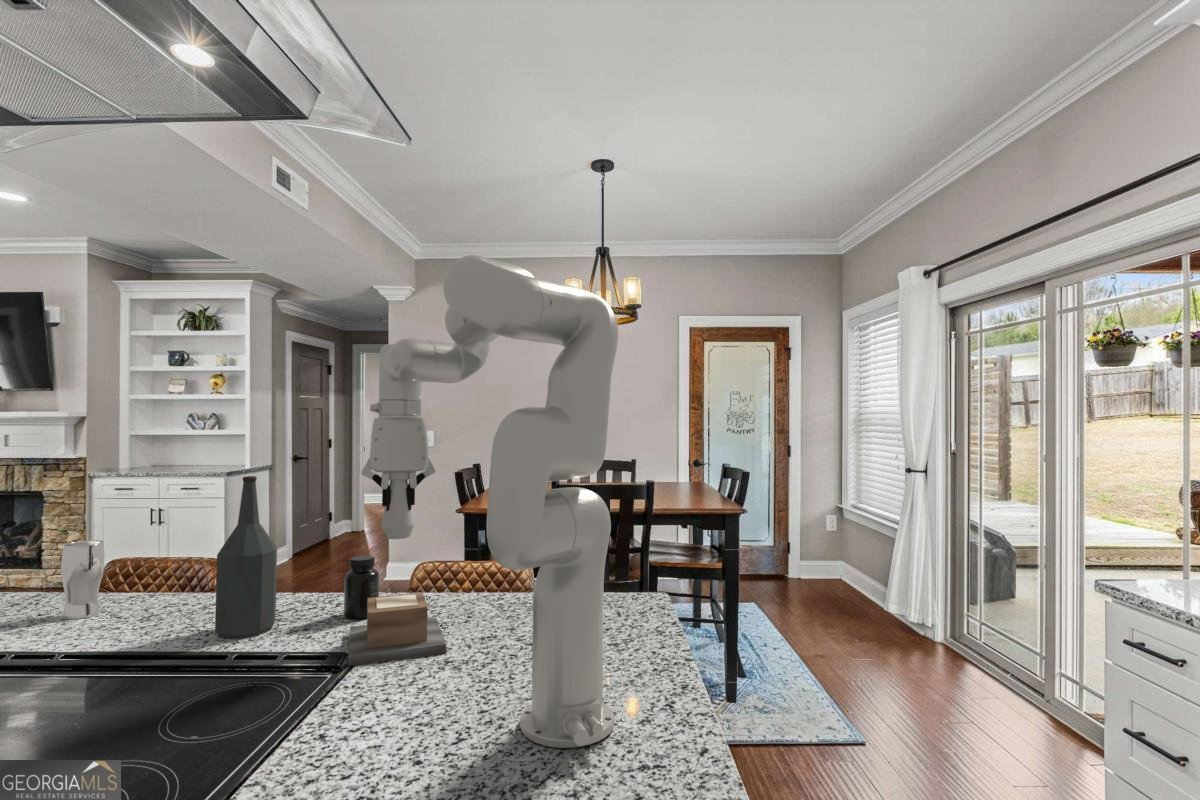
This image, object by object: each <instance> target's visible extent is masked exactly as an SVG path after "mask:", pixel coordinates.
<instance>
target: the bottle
mask: <svg viewBox="0 0 1200 800" xmlns="http://www.w3.org/2000/svg"><path fill="white" fill-rule="evenodd" d="M242 481H243V484H242V489H241V491H242V492H241V498H240V506H239V511H238V512H239V513H238V514H239V515H238V520H237V525H236V526H235V528H234V529H233V530H232V532H231V533H230V536H228V538H227V539H226V541H225V542H224V544H223V545H222V547H221V548H220V550H219V552H217V555H216V582H215V583H216V586H215V588H216V589H215V590H216V591H215V617H214V619H215V620H214V621H215V623H214V626H215V627H214V632H215V634H216V635H217V636H218V637H219V638H223V639H233V640H234V639H235V640H237V639H244V638H250V637H254V636H259V635H262V634H264V633H266V632H269V631H271V630H272V628H274V627H273V626H274V625H275V622H276V614H277V613H276V611H277V610H276V608H277V607H276V606H277V567H278V566H277V564H278V562H277V561H278V547H277V546H276V544H275V543H274V541H273V540H272V538H271V537H270V536H269V534H268V532H267V531H266V529H264V527H263V525H262V524H261V523H260V515H259V504H258V492H257V483H256V482H257V476H253V475H248V476H243V477H242Z"/></svg>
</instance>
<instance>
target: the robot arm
mask: <svg viewBox="0 0 1200 800" xmlns="http://www.w3.org/2000/svg"><path fill="white" fill-rule="evenodd" d="M442 289H443V296H444V299H445V301H446V303H447V305H448V308H447V309H446V311H445V315H444V324H445V328H446V331H447V333H448V334H449V336H450V337H451V340H452V341H454V342H445V341H440V340H439V341H438V340H429V339H419V338H403V339H400V340H398V341H396V342H395V343H389V344H384V345H383V346H382V347H381V348H380V350H379V359H378V361H379V363H378V364H379V365H378V366H379V367H378V402H377V403H371V404H370V406H369V407H370V408H369V409H370V412H375V413H376V414H378V415H377V416H378V417H374V418H373V422H372V428H371V435H370V436H371V437H370V446H369V448H370V449H369V451H370V452H369V458H368V460H367V461H366V463H365V464H364V467H363V469H362V470H361V475H362V476H363V477H365V478H368V479H370V480H372V481H373V482H374V483H376V484H377V486H378V487H380V488H381V490H382V493H381V495H382V496H381V497H382V498H381V507H385V506H386V511H389V507H390V502H391V490H390V486H389V485H390V480H389V474H390V472H409V479H408V489H407V504H408V509H409V510H411V505H412V506H414V505H416V504H415V503H416V500H415V499H416V497H415V495H416V488H417V486H418V485H419V484H421V482H422V481H424V479H427V478H428V477H430V476H432V475H434V474H435V473H436V469H435V467H434V465H433V463H432V461H431V460H430V458H429V440H428V439H429V437H428V428H427V423H426V422H427V421H426V418H424V417H422V416H421V415H422V414H421V413H422V383H439V384H456V383H459V382H461V381H464V380H466V379H467V378H469V377H471V376H473V375H474V374H475V373H477V372H479V371H480V370H481V369H482V368H483V366H484V365H485V363H486V361H487V358H488V356H489V354H490V353H489V352H490V347H491V346H490V345H491V344H490V343H491V342H493V341H494V340H495V339H497V337H500V336H501V337H505V338H509V339H512V340H522V341H529V342H534V343H535V342H537V343H542V344H543V343H544V344H553V345H560V346H562V347H563V349H562V350H561V351H560V353H559V354H558V355H557V357H556V358H555V360H554V363H553V364H552V367H551V369H550V371H549V375H548V379H547V380H548V381H547V393H546V394H547V395H546V399H545V400H546V401H545V406H544V407H540V406H539V407H537V406H536V407H535V406H531V407H523V408H518V409H515V410H513V411H511V412H510V413H508V414H506V416H505V417H504V418H503V419H502V421H501V422H500V424H499V425H498V427H497V430H496V432H495V435H494V436H493V437H494V438H493V440H492V441H493V442H492V445H491V455H490V468H489V481H488V482H489V483H488V496H487V507H486V510H487V511H486V538H487V545H488V549H489V552H490V553H491V555H492V557H493V559H494V560H495V561H496V563H497V564H498V565H500V566H501V567H502V568H504V569H507V570H511V571H523V570H530V569H536V568H539V570H538V572H537V576H536V578H535V581H534V586H533V594H532V595H533V596H532V640H531V641H532V642H531V643H532V652H531V653H532V654H531V655H532V660H531V661H532V662H531V663H532V664H531V666H532V667H531V668H532V669H531V670H532V671H531V672H532V673H531V676H532V677H531V683H532V684H531V685H532V686H531V704H530V705H528V706H527V707H526V708H525V709H524V710H523V711H522V712H521V714H520V719H519V720H520V721H519V722H520V724H519V726H520V730H521V733H522V734H523V735H524V736H525V737H526V738H527V739H529V740H530V741H532V742H534V743H536V744H538V745H541V746H545V747H549V748H550V747H551V748H556V749H557V748H558V749H559V748H560V749H569V748H570V749H573V748H579V747H580V748H582V747H585V746H589V745H592V744H596V743H597V742H600V741H602V740H603V739H605V738H606V737H608V735H610V734H611V733H612V731H613V730H614V727H615V715H614V714H615V713H614V711H613V710H612V708H611V707H609V706H608V704H606V703H604V698H603V697H604V696H603V695H604V583H605V581H604V580H605V566H606V559H607V554H608V549H609V544H610V537H611V530H612V521H611V515H610V511H609V508H608V506H607V504H606V502H605V500H603V498H602V497H601V496H600V495H599V494H598V493H596V492H594V491H593V490H590V489H587V488H584V487H577V486H576V487H575V486H573V487H572V486H571V487H558V488H549V489H548V482H555V481H556V482H557V481H567V480H576V479H582V478H586V477H590V476H591V475H594V474H596V473H597V472H598V471H599V470H600V469H601V467H602V465H603V463H604V460H605V458H606V457H605V456H606V449H607V439H608V437H607V436H608V426H609V412H610V402H611V384H612V375H613V368H614V364H615V360H616V353H617V349H618V341H619V325H618V320H617V317H616V314H615V313H614V310H613V309H612V307H611V306H610V304H608V302H606V300H605V299H604V298H602V297H601V296H599V295H597V294H596V293H593V292H591V291H589V290H586V289H584V288H580V287H577V286H573V285H570V284H566V283H561V282H558V281H557V282H556V281H553V280H547V279H543V278H538V277H535V276H534V275H533V274H532V273H531V272H530V271H528V270H527V269H525V268H523V267H522V266H519V265H516V264H513V263H508V262H504V261H501V260H496V259H493V258H491V257H485V256H482V255H481V256H480V255H476V254H471V255H465V256H464V255H463V256H462V257H460V258H458V259H457V260H456V261H455V262H453V263H452V264H451V265H450V267H449V268H448V269H447V271H446V274H445V276H444V280H443V286H442ZM421 417H422V418H421ZM417 472H419V473H418V474H417ZM377 473H381V476H380V475H379V474H377Z"/></svg>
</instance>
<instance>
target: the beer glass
mask: <svg viewBox="0 0 1200 800" xmlns="http://www.w3.org/2000/svg"><path fill="white" fill-rule="evenodd" d="M104 568H105V546H104V540H100V539H99V540H97V539H95V540H93V539H92V540H82V541H81V540H80V541H74V542H73V541H72V542H69V543H67V542H66V543H65V544H63V547H62V553H61V562H60V573H61V575H60V576H61V580H62V585H63V586H62V587H63V591H64V607H63V610H62V614H61V618H62V619H63V620H79V619H84V618H85V619H86V618H90V617H93V616H96V615H98V614H100V612H101V608H100V604H99V591H100V586H101V583H102V578H103V574H104Z"/></svg>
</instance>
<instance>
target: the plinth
mask: <svg viewBox="0 0 1200 800" xmlns="http://www.w3.org/2000/svg"><path fill="white" fill-rule="evenodd" d="M348 639H349V640H348V650H347V651H348V654H347V666H348V665H349V666H350V667H351V666H356V665H363V664H364V665H365V664H372V663H380V662H381V663H382V662H388V661H396V660H402V659H410V658H412V659H413V658H417V657H426V656H434V655H441V654H446V653H447V643H446V641H445V640H446V639H445V637H444V635H443V632H442V630H441V627H440V624H439V621H438V619H437V617H428V605H427V601H426V599H425V596H424V593H423V592H416V593H415V592H414V593H406V594H405V593H404V594H395V595H392V594H391V595H383V596H382V595H381V596H379V597H370V598H368V601H367V619H366V624H365V625H354V626H349V637H348ZM349 666H348V667H349Z"/></svg>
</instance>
